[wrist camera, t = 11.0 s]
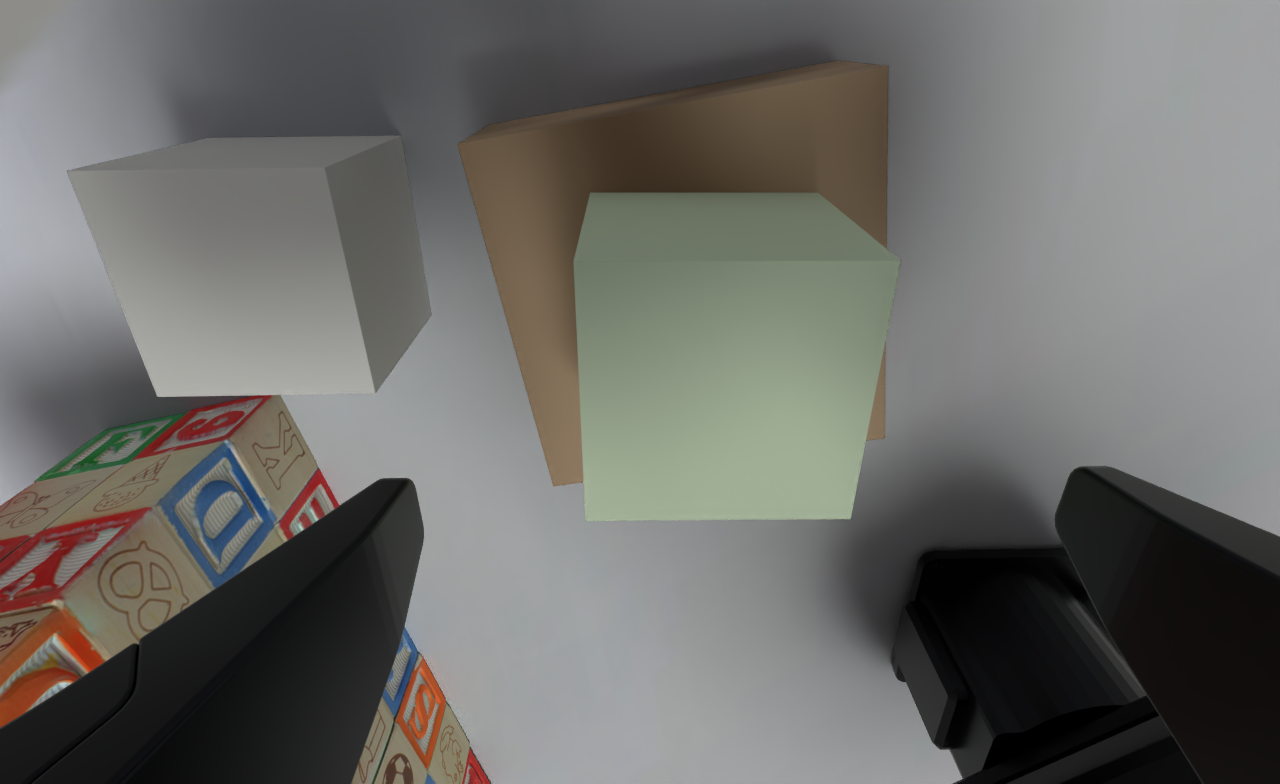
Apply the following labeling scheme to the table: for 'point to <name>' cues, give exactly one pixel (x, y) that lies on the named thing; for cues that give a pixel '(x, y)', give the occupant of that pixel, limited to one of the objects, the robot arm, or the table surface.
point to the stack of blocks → (184, 564)
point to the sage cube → (726, 354)
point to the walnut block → (660, 163)
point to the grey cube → (262, 261)
